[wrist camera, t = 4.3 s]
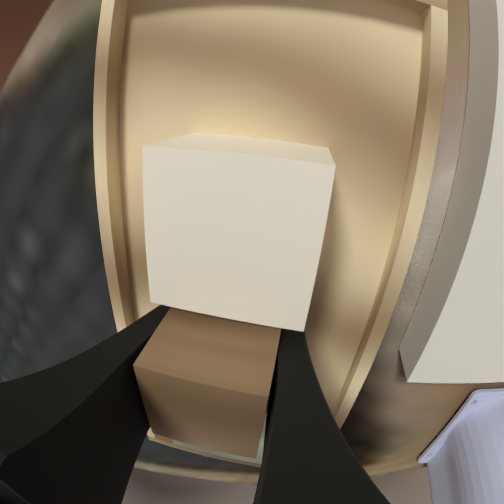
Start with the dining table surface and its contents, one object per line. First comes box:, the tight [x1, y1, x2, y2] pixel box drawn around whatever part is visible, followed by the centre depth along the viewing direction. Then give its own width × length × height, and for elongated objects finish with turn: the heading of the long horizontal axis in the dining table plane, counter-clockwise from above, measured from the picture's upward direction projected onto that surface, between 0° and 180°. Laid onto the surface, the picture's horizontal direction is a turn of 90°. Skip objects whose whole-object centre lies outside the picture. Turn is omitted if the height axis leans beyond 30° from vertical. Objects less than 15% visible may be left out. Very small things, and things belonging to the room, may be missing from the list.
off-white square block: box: [143, 133, 336, 332], centre depth 8 cm, size 4×4×3 cm
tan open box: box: [93, 0, 448, 467], centre depth 10 cm, size 22×10×7 cm, turn 176°
